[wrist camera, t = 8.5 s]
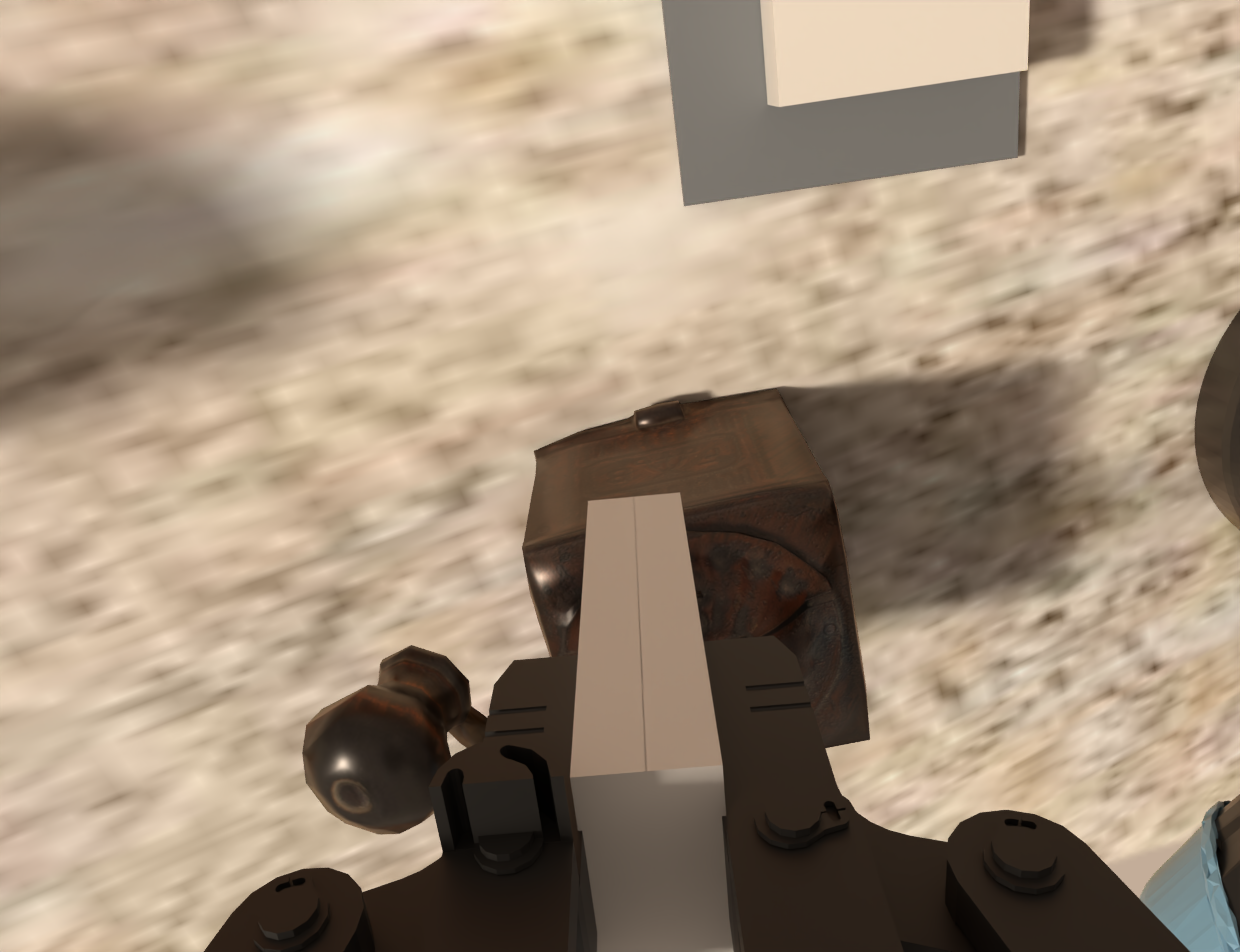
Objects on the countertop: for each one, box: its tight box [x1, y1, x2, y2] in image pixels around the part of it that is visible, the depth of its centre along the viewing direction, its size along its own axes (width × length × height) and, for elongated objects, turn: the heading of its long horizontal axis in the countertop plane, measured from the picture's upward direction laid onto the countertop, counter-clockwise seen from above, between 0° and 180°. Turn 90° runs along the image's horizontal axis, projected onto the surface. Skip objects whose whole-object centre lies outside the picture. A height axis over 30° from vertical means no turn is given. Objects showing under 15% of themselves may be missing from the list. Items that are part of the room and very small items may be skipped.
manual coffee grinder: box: [303, 389, 870, 834], centre depth 31 cm, size 16×11×18 cm
